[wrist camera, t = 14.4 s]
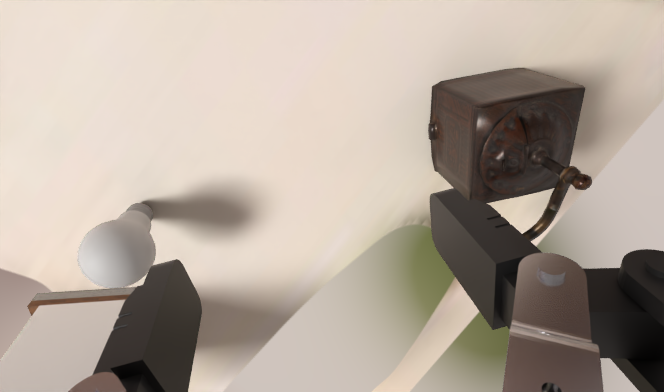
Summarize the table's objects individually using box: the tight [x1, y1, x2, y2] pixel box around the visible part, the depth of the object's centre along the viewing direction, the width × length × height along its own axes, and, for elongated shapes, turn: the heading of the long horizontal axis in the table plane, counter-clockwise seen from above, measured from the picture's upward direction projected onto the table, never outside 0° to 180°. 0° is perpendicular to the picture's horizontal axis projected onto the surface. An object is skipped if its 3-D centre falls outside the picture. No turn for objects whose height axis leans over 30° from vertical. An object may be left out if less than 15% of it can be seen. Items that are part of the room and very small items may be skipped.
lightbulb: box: [78, 203, 156, 288], centre depth 36 cm, size 6×6×11 cm
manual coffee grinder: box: [428, 68, 592, 241], centre depth 35 cm, size 16×11×18 cm
